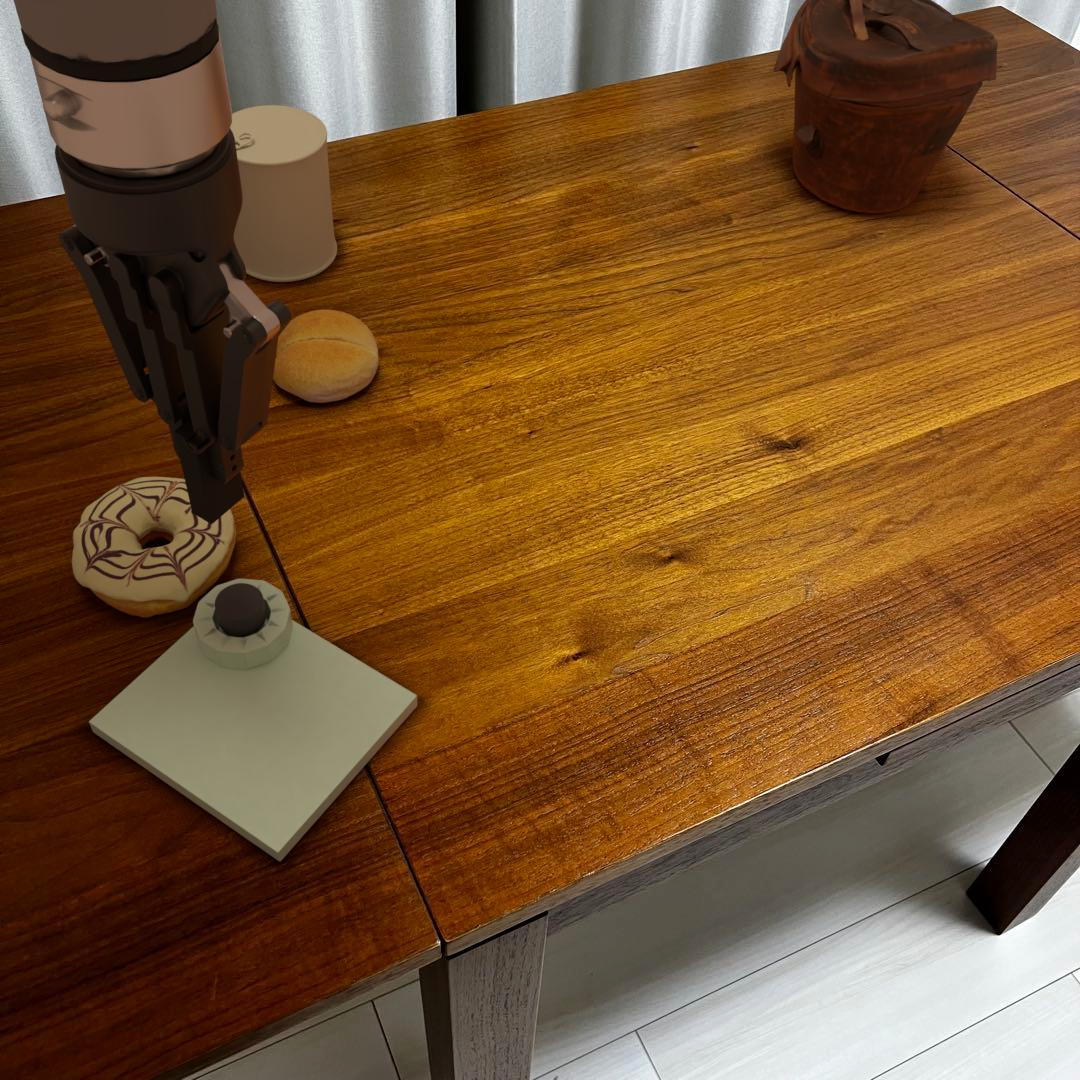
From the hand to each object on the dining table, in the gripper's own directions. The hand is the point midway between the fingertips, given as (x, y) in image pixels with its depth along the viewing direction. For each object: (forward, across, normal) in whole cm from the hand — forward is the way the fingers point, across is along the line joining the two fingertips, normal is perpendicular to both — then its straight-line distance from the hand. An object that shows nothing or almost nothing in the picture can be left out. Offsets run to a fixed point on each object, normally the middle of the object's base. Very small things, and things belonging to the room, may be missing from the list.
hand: (218, 504), depth 69 cm
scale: (+13, +5, -4) cm, 14 cm away
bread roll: (+13, -13, +24) cm, 30 cm away
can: (+13, -26, +34) cm, 44 cm away
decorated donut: (+13, -9, +1) cm, 16 cm away
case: (+13, +10, +78) cm, 79 cm away
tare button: (+10, +1, 0) cm, 10 cm away
